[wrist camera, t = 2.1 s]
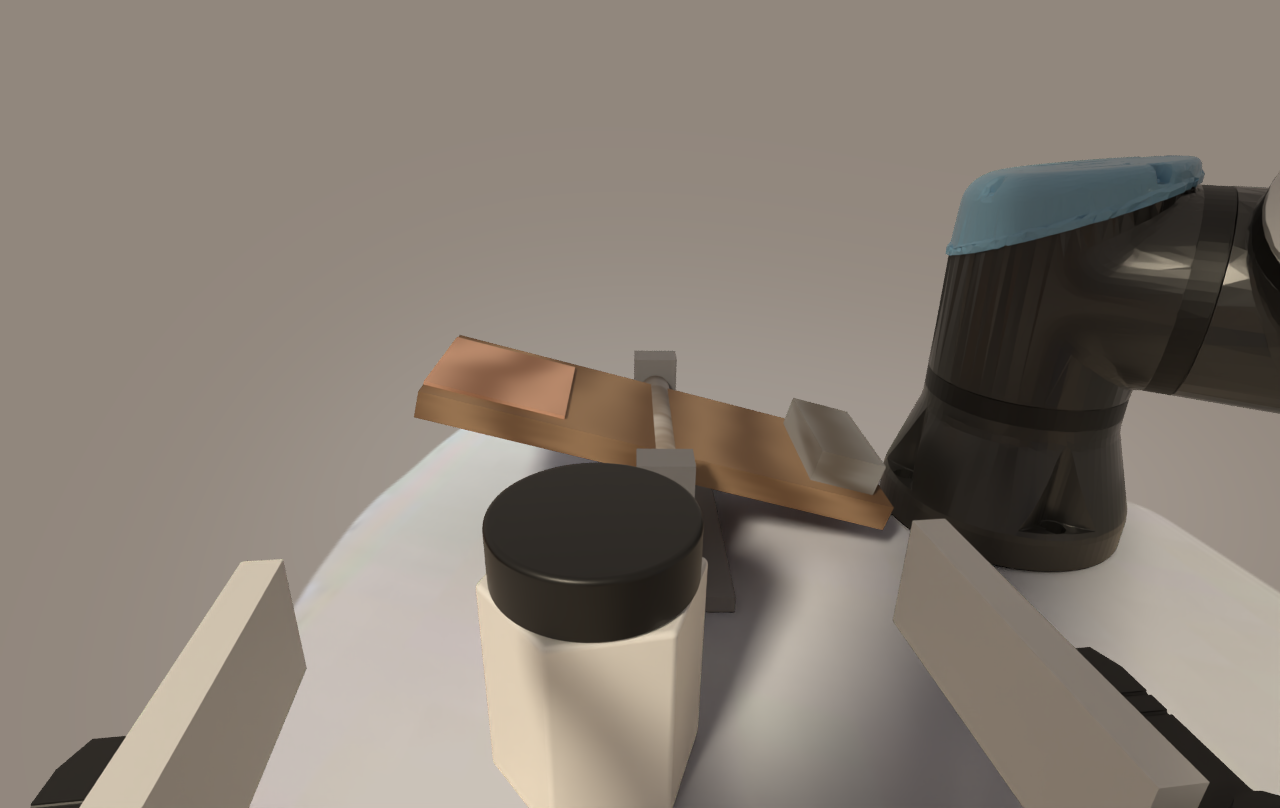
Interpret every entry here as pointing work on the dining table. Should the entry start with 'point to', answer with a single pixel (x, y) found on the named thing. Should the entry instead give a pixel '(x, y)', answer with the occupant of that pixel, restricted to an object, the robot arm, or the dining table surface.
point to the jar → (593, 635)
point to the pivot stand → (688, 487)
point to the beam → (660, 428)
